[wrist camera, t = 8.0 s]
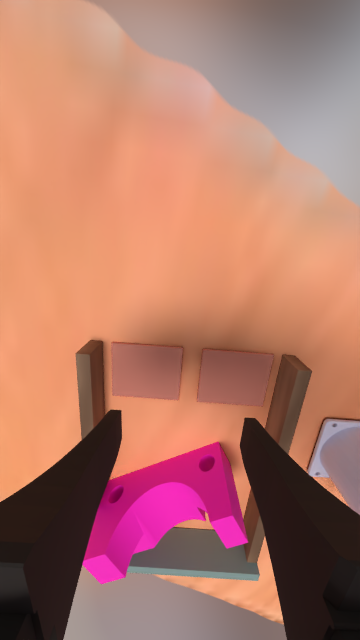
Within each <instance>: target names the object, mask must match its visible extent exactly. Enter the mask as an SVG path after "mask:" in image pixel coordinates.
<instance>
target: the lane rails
mask: <svg viewBox="0 0 360 640" xmlns="http://www.w3.org/2000/svg"><path fill="white" fill-rule="evenodd" d="M76 366H77V380H78V393H79V407H80V421H81V435H82V440H83V439H84V438H85V437H86V436H87V434H88V433H89V432H90V431H91V430H92V429H93V428H94V427H95V426H96V425H97V424H98V423H99V422H100V421H101V420H102V419H103V417H104V416H105V409H104V377H103V345H102V341H93V340H90V341H89V342H88V343H87V344H86V345H84V346H83V347H82V348H81V349H80V350H79V351H78V352H77V353H76ZM311 373H312V371H311V370H310V369H309V368H308V367H307V366H306V365H304V364H303V363H302V362H301V361H300V360H299V359H298V358H297V357H296V356H292V355H283V356H282V360H281V364H280V368H279V372H278V377H277V381H276V385H275V389H274V394H273V398H272V402H271V406H270V410H269V415H268V419H267V423H266V427H265V430H266V431H267V432H268V433H269V435H270V436H271V437H272V438H273V439H274V440H275V441H276V442H277V443H278V445H279V446H280V447H281V448H282V449H283V450H284V451H285V452H286V453H287V454H288V453H289V450H290V446H291V443H292V439H293V436H294V432H295V429H296V425H297V422H298V418H299V415H300V411H301V408H302V404H303V401H304V397H305V394H306V390H307V387H308V384H309V380H310V377H311ZM243 522H244V526H245V530H246V535H247V539H248V543H245V544H243V545H244V550H245V555H246V560H247V562H249V563H257V561H258V557H259V554H260V550H261V547H262V543H263V540H264V536H265V533H264V529H263V524H262V521H261V517H260V514H259V510H258V507H257V504H256V501H255V498H254V495H253V492H252V489H251V491H250V495H249V499H248V503H247V507H246V512H245V516H244V520H243Z"/></svg>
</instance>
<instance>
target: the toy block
mask: <svg viewBox="0 0 360 640" xmlns="http://www.w3.org/2000/svg"><path fill="white" fill-rule="evenodd" d="M205 512H206V513H208V516H209V520H210V523H211V525H212V526H213V528H214V529H215V531H216V533H217V534H218V536H219V537H220V539H221V540H222V542H223V544H224V545H225V547H226V548H231V547H234V546H238V545H241V544H245V543H248V539H247V535H246V530H245V526H244V522H243V517H242V513H241V509H240V504H239V500H238V495H237V491H236V487H235V482H234V478H233V474H232V469H231V465H230V463H229V461H228V459H227V457H226V455H225V453H224V451H223V449H222V448H221V446H220V444H219V442H216V443H213V444H210V445H207V446H204V447H202V448H199V449H196V450H193V451H190V452H188V453H185V454H182V455H179V456H176V457H174V458H171V459H168V460H165V461H162V462H159V463H157V464H154V465H151V466H148V467H145V468H143V469H140V470H137V471H134V472H131V473H129V474H126V475H123V476H120V477H117V478H115V479H112V480H109V481H108V483H107V486H106V488H105V491H104V494H103V496H102V499H101V502H100V505H99V508H98V511H97V514H96V517H95V521H94V524H93V528H92V531H91V535H90V538H89V542H88V546H87V549H86V553H85V557H84V560H83V564H82V565H83V566H84V567H85V568H86V569H87V570H88V571H89V572H90V573H91V574H92V575H93V576H94V577H95V578H96V579H97V580H98V581H99V582H100V583H101V584H104V583H107V582H110V581H114V580H118V579H121V578H125V577H126V573H127V569H128V566H129V563H130V560H131V558H132V555H133V554H135V553H138V552H141V551H145V550H148V549H152V548H155V546H156V545H157V543H158V542H159V540H160V539H161V538H162V537H163V536H164V534H165V533H166V532H167V531H169V530H170V529H171V528H172V527H174V526H175V525H177V524H178V523H181V522H183V521H186V520H191V519H198V520H203V521H206V519H205Z"/></svg>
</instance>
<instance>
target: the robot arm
mask: <svg viewBox="0 0 360 640" xmlns="http://www.w3.org/2000/svg"><path fill="white" fill-rule="evenodd" d="M121 440H122V421H121V410H110V411H109V412H108V413H107V414H106V415H105V416H104V417H103V419H102V420H101V421H100V422H99V423H98V424H97V425H96V426H95V427H94V428H93V429H92V430H91V431H90V432H89V433H88V434H87V436H86V437H85V438H84V439H83V440H82V441H80V442H79V443H78V444H77V445H76V446H75V447H74V448H73V449H72V450H71V451H70V452H69V453H68V454H66V455H65V456H64V457H63V458H62V459H61V460H59V461H58V462H57V463H56V464H55V465H53V466H52V467H51V468H50V469H48V470H47V471H46V472H44V473H43V474H42V475H40V476H39V477H38V478H36V479H35V480H34V481H32V482H31V483H29V484H28V485H26V486H25V487H23V488H22V489H20V490H19V491H17V492H16V493H14V494H13V495H11V496H10V497H8V498H6V499H5V500H3V501H2V502H0V640H63V638H64V634H65V630H66V626H67V622H68V618H69V614H70V610H71V606H72V602H73V598H74V594H75V590H76V587H77V583H78V579H79V575H80V571H81V567H82V564H83V560H84V557H85V553H86V549H87V546H88V542H89V538H90V535H91V531H92V528H93V524H94V521H95V517H96V514H97V511H98V508H99V505H100V502H101V499H102V496H103V494H104V491H105V488H106V486H107V483H108V480H109V478H110V475H111V472H112V470H113V467H114V464H115V461H116V459H117V455H118V452H119V448H120V444H121ZM240 449H241V454H242V459H243V463H244V467H245V470H246V473H247V477H248V480H249V483H250V486H251V489H252V492H253V495H254V498H255V501H256V504H257V507H258V510H259V514H260V517H261V521H262V524H263V529H264V533H265V537H266V541H267V545H268V550H269V554H270V559H271V563H272V567H273V572H274V577H275V581H276V586H277V591H278V596H279V601H280V606H281V611H282V616H283V621H284V626H285V632H286V637H287V640H360V421H352V420H339V419H326V420H325V421H324V422H323V425H322V428H321V431H320V434H319V437H318V440H317V443H316V446H315V449H314V452H313V455H312V458H311V461H310V464H309V467H308V471H307V472H308V473H306V472H305V471H304V470H303V469H302V468H301V467H300V466H299V465H298V464H297V463H296V462H295V461H294V460H293V459H292V458H291V457H290V456H289V455H288V454H287V453H286V452H285V451H284V450H283V449H282V448H281V447H280V446H279V445H278V443H277V442H276V441H275V440H274V439H273V438H272V437H271V436H270V435H269V433H268V432H267V431H266V430H265V429H264V428H263V426H262V425H261V424H260V423H259V422H258V421H257V420H256V419H255V418H245V420H244V426H243V431H242V436H241V442H240ZM311 476H314V477H328V478H331V480H332V481H333V483H334V484H335V486H336V487H337V489H338V490H339V492H340V493H341V495H342V496H343V498H344V499H345V501H346V502H347V504H348V505H349V507H348V506H347V505H345V504H344V503H343V502H341V501H340V500H339V499H338V498H336V497H335V496H334V495H333V494H331V493H330V492H329V491H327V490H326V489H325V488H324V487H323V486H321V485H320V484H319V483H318V482H317V481H316V480H314V479H313V478H312V477H311Z"/></svg>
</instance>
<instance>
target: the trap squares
mask: <svg viewBox="0 0 360 640" xmlns="http://www.w3.org/2000/svg"><path fill="white" fill-rule="evenodd" d="M182 353H183V347H173V346H160V345H146V344H133V343H120V342H112V395H113V396H127V397H141V398H154V399H168V400H178V399H179V387H180V376H181V364H182ZM273 357H274V355H273V354H266V353H252V352H239V351H226V350H213V349H203V352H202V361H201V369H200V378H199V387H198V395H197V402H209V403H223V404H236V405H250V406H263V402H264V398H265V393H266V389H267V384H268V380H269V375H270V371H271V366H272V362H273Z"/></svg>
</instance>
